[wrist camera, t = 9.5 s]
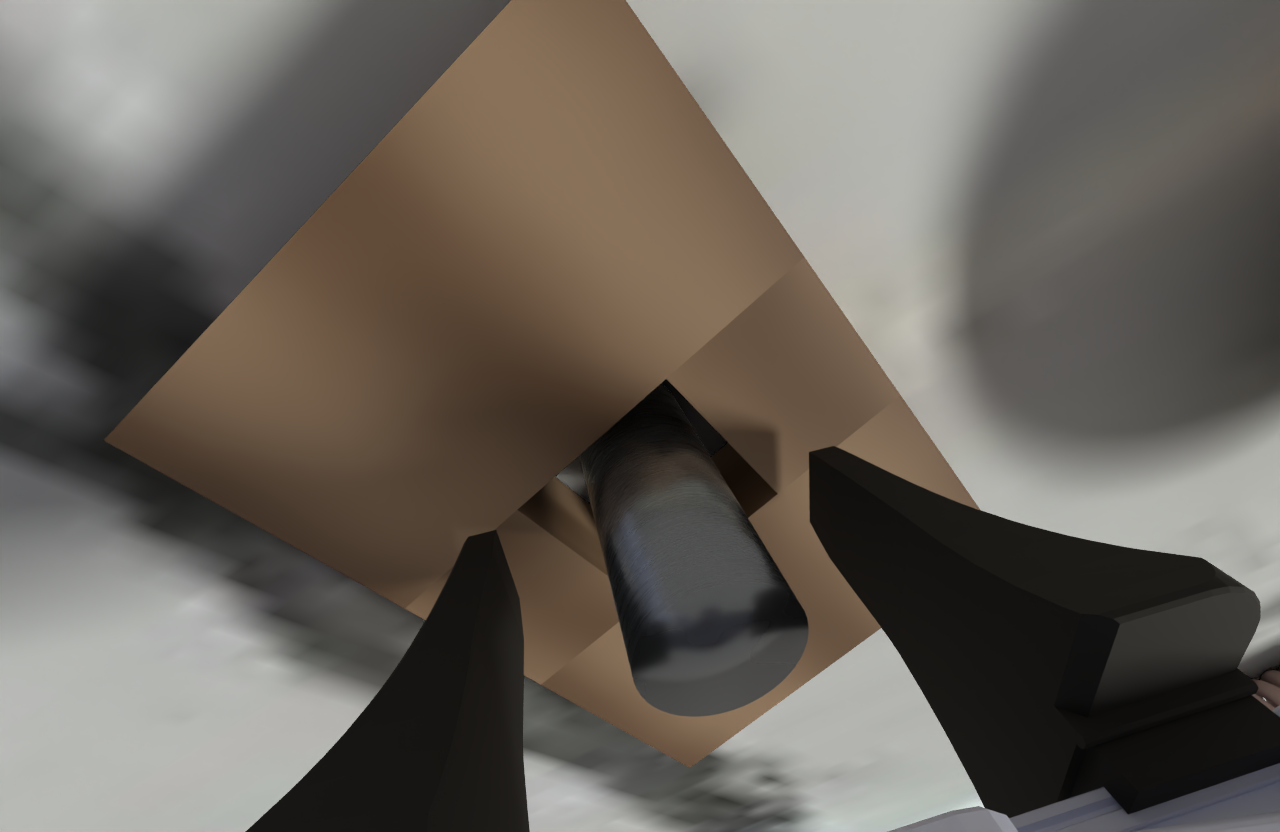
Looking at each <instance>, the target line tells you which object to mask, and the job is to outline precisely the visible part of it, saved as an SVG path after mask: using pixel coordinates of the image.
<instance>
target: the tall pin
mask: <svg viewBox="0 0 1280 832" xmlns="http://www.w3.org/2000/svg"><path fill="white" fill-rule="evenodd" d="M579 458H580V462H581V466H582V470H583V475H584V479H585V483H586V487H587V491H588V495H589V499H590V504H591V508H592V512H593V516H594V520H595V524H596V528H597V532H598V537H599V541H600V545H601V549H602V553H603V557H604V561H605V566H606V570H607V574H608V578H609V582H610V586H611V590H612V595H613V599H614V603H615V607H616V611H617V615H618V619H619V624H620V628H621V632H622V636H623V640H624V644H625V648H626V652H627V657H628V661H629V665H630V669H631V673H632V677H633V681H634V684H635V687H636V689H637V691H638V692H639V694H640V695H641V696H642V697H643V699H644V700H645V701H646V702H648V703H649V704H650V705H652V706H653V707H655V708H657V709H659V710H661V711H664V712H666V713H669V714H674V715H679V716H688V717H701V716H711V715H716V714H721V713H725V712H728V711H732V710H735V709H737V708H740V707H743V706H745V705H747V704H749V703H751V702H754V701H755V700H757V699H759V698H761V697H762V696H764V695H765V694H767V693H768V692H770V691H771V690H773V689H774V688H775V687H776V686H777V685H779V684H780V683H781V682H782V681H783V680H784V679H785V678H786V677H787V676H788V675H789V674H790V673H791V671H792V670H793V669H794V668H795V666H796V665H797V663H798V662H799V660H800V658H801V656H802V654H803V652H804V650H805V647H806V644H807V640H808V635H809V625H808V619H807V616H806V613H805V611H804V609H803V607H802V606H801V604H800V603H799V601H798V599H797V598H796V596H795V594H794V593H793V591H792V589H791V588H790V586H789V584H788V583H787V581H786V580H785V578H784V576H783V575H782V573H781V571H780V570H779V568H778V566H777V565H776V563H775V562H774V560H773V558H772V557H771V555H770V553H769V552H768V550H767V548H766V547H765V545H764V543H763V542H762V540H761V539H760V537H759V535H758V534H757V532H756V530H755V529H754V527H753V525H752V524H751V522H750V520H749V519H748V517H747V516H746V514H745V512H744V511H743V509H742V507H741V506H740V504H739V502H738V501H737V499H736V497H735V496H734V494H733V493H732V491H731V489H730V488H729V486H728V484H727V483H726V481H725V479H724V478H723V476H722V475H721V473H720V471H719V470H718V468H717V466H716V465H715V463H714V461H713V460H712V458H711V456H710V455H709V453H708V452H707V450H706V448H705V447H704V445H703V443H702V442H701V440H700V438H699V437H698V435H697V433H696V432H695V430H694V429H693V427H692V425H691V424H690V422H689V420H688V419H687V417H686V415H685V414H684V412H683V410H682V409H681V407H680V406H679V404H678V402H677V401H676V399H675V397H674V396H673V394H672V393H671V392H670V390H669V389H668V388H667V387H666V386H664V385H663V384H662V383H661V384H660V385H659V386H657V387H656V388H655V389H654V390H653V391H652V392H651V393H649V394H648V395H647V396H646V397H645V398H644V399H643V400H641V401H640V402H639V403H638V404H637V405H636V406H635V407H634V408H632V409H631V410H630V411H629V412H628V413H627V414H626V415H624V416H623V417H622V418H621V419H620V420H619V421H618V422H616V423H615V424H614V425H613V426H612V427H611V428H610V429H609V430H607V431H606V432H605V433H604V434H603V435H602V436H601V437H599V438H598V439H597V440H596V441H595V442H594V443H593V444H591V445H590V446H589V447H588V448H587V449H586V450H585V451H584V452H582V453H581V454H580V455H579Z"/></svg>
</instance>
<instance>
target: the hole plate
mask: <svg viewBox="0 0 1280 832" xmlns="http://www.w3.org/2000/svg"><path fill="white" fill-rule="evenodd" d="M665 379H667V380H668V381H669V382H670V383H671V384H672V385H673V386H674V387H675V388H676V389H677V390H678V391H679V392H680V393H681V394H682V395H683V396H684V397H685V398H686V399H687V401H688V402H689V403H690V404H691V405H692V406H693V407H694V408H695V409H696V410H697V411H698V412H699V413H700V414H701V415H702V416H703V417H704V418H705V419H706V420H707V421H708V422H709V423H710V424H711V425H712V426H713V427H714V428H715V429H716V430H717V432H718V433H719V434H720V435H721V436H722V437H723V438H724V439H725V440H726V441H727V442H728V443H727V444H726V445H725V446H724V447H722V448H721V449H720V450H719V451H718V452H716V453H715V454H714V455H713V456H712V457H711V458H712V460H713V461H714V463H715V465H716V466H717V468H718V470H719V471H720V473H721V475H722V476H723V478H724V479H725V481H726V483H727V484H728V486H729V488H730V489H731V491H732V493H733V494H734V496H735V497H736V499H737V501H738V502H739V504H740V506H741V507H742V509H743V511H744V512H745V514H746V516H747V517H748V519H749V520H750V522H751V524H752V525H753V527H754V529H755V530H756V532H757V534H758V535H759V537H760V539H761V540H762V542H763V543H764V545H765V547H766V548H767V550H768V552H769V553H770V555H771V557H772V558H773V560H774V562H775V563H776V565H777V566H778V568H779V570H780V571H781V573H782V575H783V576H784V578H785V580H786V581H787V583H788V584H789V586H790V588H791V589H792V591H793V593H794V594H795V596H796V598H797V599H798V601H799V603H800V604H801V606H802V607H803V609H804V611H805V613H806V616H807V619H808V625H809V635H808V640H807V644H806V647H805V650H804V652H803V654H802V656H801V658H800V660H799V662H798V663H797V665H796V666H795V668H794V669H793V670H792V671H791V673H790V674H789V675H788V676H787V677H786V678H785V679H784V680H783V681H782V682H781V683H780V684H779V685H777V686H776V687H775V688H774V689H773V690H771V691H770V692H768V693H767V694H765V695H764V696H762V697H761V698H759V699H757V700H755V701H754V702H751V703H749V704H747V705H745V706H743V707H740V708H737V709H735V710H732V711H728V712H725V713H721V714H716V715H711V716H701V717H688V716H679V715H674V714H669V713H666V712H664V711H661V710H659V709H657V708H655V707H653V706H652V705H650V704H649V703H648V702H646V701H645V700H644V699H643V697H642V696H641V695H640V694H639V692H638V691H637V689H636V687H635V684H634V681H633V677H632V673H631V669H630V665H629V661H628V657H627V652H626V648H625V644H624V640H623V636H622V632H621V628H620V624H619V619H618V615H617V611H616V607H615V603H614V599H613V595H612V590H611V586H610V582H609V578H608V574H607V570H606V566H605V561H604V557H603V553H602V549H601V545H600V541H599V537H598V532H597V528H596V524H595V520H594V516H593V512H592V508H591V505H590V504H589V503H587V502H586V501H585V500H584V499H582V498H581V497H580V496H579V495H577V494H576V493H575V492H574V491H572V490H571V489H570V488H568V487H567V486H566V485H565V484H563V483H562V482H561V481H560V480H558V479H557V478H556V477H555V476H556V475H557V474H559V473H560V472H561V471H562V470H563V469H564V468H565V467H566V466H568V465H569V464H570V463H571V462H572V461H573V460H574V459H576V458H577V457H578V456H579V455H580V454H581V453H582V452H584V451H585V450H586V449H587V448H588V447H589V446H590V445H591V444H593V443H594V442H595V441H596V440H597V439H598V438H599V437H601V436H602V435H603V434H604V433H605V432H606V431H607V430H609V429H610V428H611V427H612V426H613V425H614V424H615V423H616V422H618V421H619V420H620V419H621V418H622V417H623V416H624V415H626V414H627V413H628V412H629V411H630V410H631V409H632V408H634V407H635V406H636V405H637V404H638V403H639V402H640V401H641V400H643V399H644V398H645V397H646V396H647V395H648V394H649V393H651V392H652V391H653V390H654V389H655V388H656V387H657V386H659V385H660V384H661V383H662V382H663V381H664V380H665ZM104 441H106V442H107V443H109V444H111V445H113V446H115V447H116V448H118V449H120V450H122V451H124V452H125V453H127V454H129V455H131V456H133V457H134V458H136V459H138V460H140V461H141V462H143V463H145V464H147V465H149V466H150V467H152V468H154V469H156V470H158V471H159V472H161V473H163V474H165V475H167V476H168V477H170V478H172V479H174V480H176V481H177V482H179V483H181V484H183V485H184V486H186V487H188V488H190V489H192V490H193V491H195V492H197V493H199V494H201V495H202V496H204V497H206V498H208V499H210V500H211V501H213V502H215V503H217V504H218V505H220V506H222V507H224V508H226V509H227V510H229V511H231V512H233V513H235V514H236V515H238V516H240V517H242V518H244V519H245V520H247V521H249V522H251V523H252V524H254V525H256V526H258V527H260V528H261V529H263V530H265V531H267V532H269V533H270V534H272V535H274V536H276V537H278V538H279V539H281V540H283V541H285V542H286V543H288V544H290V545H292V546H294V547H295V548H297V549H299V550H301V551H303V552H304V553H306V554H308V555H310V556H312V557H313V558H315V559H317V560H319V561H321V562H322V563H324V564H326V565H328V566H329V567H331V568H333V569H335V570H337V571H338V572H340V573H342V574H344V575H346V576H347V577H349V578H351V579H353V580H355V581H356V582H358V583H360V584H362V585H363V586H365V587H367V588H369V589H371V590H372V591H374V592H376V593H378V594H380V595H381V596H383V597H385V598H387V599H389V600H390V601H392V602H394V603H396V604H397V605H399V606H401V607H403V608H405V609H406V610H408V611H410V612H412V613H414V614H415V615H417V616H419V617H421V618H423V619H424V620H426V619H427V617H428V615H429V614H430V612H431V610H432V608H433V606H434V604H435V602H436V600H437V598H438V597H439V595H440V593H441V591H442V589H443V587H444V585H445V583H446V581H447V579H448V577H449V575H450V573H451V571H452V569H453V566H454V564H455V562H456V560H457V558H458V556H459V553H460V551H461V549H462V547H463V544H464V542H465V541H466V539H467V538H468V537H469V536H473V535H477V534H481V533H485V532H489V531H493V530H497V533H498V536H499V539H500V542H501V545H502V548H503V551H504V554H505V557H506V560H507V563H508V566H509V569H510V572H511V574H512V577H513V580H514V583H515V586H516V589H517V592H518V595H519V598H520V607H521V616H522V625H523V635H524V675H525V676H526V677H528V678H530V679H532V680H534V681H535V682H537V683H539V684H541V685H543V686H544V687H546V688H548V689H550V690H551V691H553V692H555V693H557V694H559V695H560V696H562V697H564V698H566V699H568V700H569V701H571V702H573V703H575V704H577V705H578V706H580V707H582V708H584V709H585V710H587V711H589V712H591V713H593V714H594V715H596V716H598V717H600V718H602V719H603V720H605V721H607V722H609V723H611V724H612V725H614V726H616V727H618V728H619V729H621V730H623V731H625V732H627V733H628V734H630V735H632V736H634V737H636V738H637V739H639V740H641V741H643V742H645V743H646V744H648V745H650V746H652V747H654V748H655V749H657V750H659V751H661V752H662V753H664V754H666V755H668V756H670V757H671V758H673V759H675V760H677V761H679V762H680V763H682V764H684V765H686V766H688V767H689V768H690V767H692V766H693V765H694V764H696V763H697V762H698V761H700V760H701V759H703V758H704V757H705V756H707V755H708V754H709V753H711V752H712V751H713V750H715V749H716V748H718V747H719V746H720V745H722V744H723V743H724V742H726V741H727V740H729V739H730V738H731V737H733V736H734V735H735V734H737V733H738V732H739V731H741V730H742V729H744V728H745V727H746V726H748V725H749V724H750V723H752V722H753V721H755V720H756V719H757V718H759V717H760V716H761V715H763V714H764V713H765V712H767V711H768V710H770V709H771V708H772V707H774V706H775V705H776V704H778V703H779V702H781V701H782V700H783V699H785V698H786V697H787V696H789V695H790V694H791V693H793V692H794V691H796V690H797V689H798V688H800V687H801V686H802V685H804V684H805V683H806V682H808V681H809V680H811V679H812V678H813V677H815V676H816V675H817V674H819V673H820V672H822V671H823V670H824V669H826V668H827V667H828V666H830V665H831V664H832V663H834V662H835V661H837V660H838V659H839V658H841V657H842V656H843V655H845V654H846V653H848V652H849V651H850V650H852V649H853V648H854V647H856V646H857V645H858V644H860V643H861V642H863V641H864V640H865V639H867V638H868V637H869V636H871V635H872V634H874V633H875V632H876V631H878V630H879V629H880V628H881V626H880V625H879V624H878V622H877V621H876V620H875V618H874V617H873V616H872V614H871V613H870V612H869V610H868V609H867V608H866V606H865V605H864V604H863V602H862V601H861V600H860V598H859V597H858V596H857V594H856V593H855V592H854V590H853V589H852V588H851V586H850V585H849V584H848V582H847V581H846V580H845V578H844V577H843V576H842V574H841V573H840V572H839V570H838V569H837V567H836V566H835V565H834V563H833V562H832V561H831V559H830V558H829V556H828V554H827V552H826V551H825V549H824V547H823V545H822V544H821V542H820V540H819V538H818V536H817V535H816V533H815V531H814V529H813V527H812V525H811V523H810V509H809V452H811V451H815V450H819V449H823V448H827V447H831V446H835V447H838V448H840V449H842V450H845V451H847V452H849V453H851V454H853V455H855V456H857V457H859V458H861V459H863V460H865V461H867V462H870V463H872V464H874V465H876V466H878V467H880V468H882V469H884V470H886V471H888V472H890V473H892V474H894V475H896V476H899V477H901V478H903V479H905V480H907V481H909V482H911V483H914V484H916V485H918V486H920V487H923V488H925V489H927V490H929V491H932V492H934V493H937V494H939V495H941V496H944V497H946V498H949V499H951V500H954V501H956V502H959V503H961V504H964V505H967V506H969V507H972V508H975V509H977V510H980V509H979V507H978V506H977V505H976V503H975V502H974V500H973V499H972V497H971V496H970V494H969V493H968V492H967V490H966V489H965V487H964V486H963V484H962V483H961V482H960V480H959V479H958V477H957V476H956V474H955V473H954V471H953V470H952V469H951V467H950V466H949V464H948V463H947V461H946V460H945V459H944V457H943V456H942V454H941V453H940V451H939V450H938V449H937V447H936V446H935V444H934V443H933V441H932V440H931V438H930V437H929V436H928V434H927V433H926V431H925V430H924V428H923V427H922V426H921V424H920V423H919V421H918V420H917V418H916V417H915V415H914V414H913V413H912V411H911V410H910V408H909V407H908V405H907V404H906V403H905V401H904V400H903V398H902V397H901V395H900V394H899V392H898V391H897V390H896V388H895V387H894V385H893V384H892V382H891V381H890V380H889V378H888V377H887V375H886V374H885V372H884V371H883V369H882V368H881V367H880V365H879V364H878V362H877V361H876V359H875V358H874V357H873V355H872V354H871V352H870V351H869V349H868V348H867V346H866V345H865V344H864V342H863V341H862V339H861V338H860V336H859V335H858V334H857V332H856V331H855V329H854V328H853V326H852V325H851V324H850V322H849V321H848V319H847V318H846V316H845V315H844V313H843V312H842V311H841V309H840V308H839V306H838V305H837V303H836V302H835V301H834V299H833V298H832V296H831V295H830V293H829V292H828V290H827V289H826V288H825V286H824V285H823V283H822V282H821V280H820V279H819V278H818V276H817V275H816V273H815V272H814V270H813V269H812V267H811V266H810V265H809V263H808V262H807V260H806V259H805V257H804V256H803V255H802V253H801V252H800V250H799V249H798V247H797V246H796V244H795V243H794V242H793V240H792V239H791V237H790V236H789V234H788V233H787V232H786V230H785V229H784V227H783V226H782V224H781V223H780V221H779V220H778V219H777V217H776V216H775V214H774V213H773V211H772V210H771V209H770V207H769V206H768V204H767V203H766V201H765V200H764V198H763V197H762V196H761V194H760V193H759V191H758V190H757V188H756V187H755V186H754V184H753V183H752V181H751V180H750V178H749V177H748V176H747V174H746V173H745V171H744V170H743V168H742V167H741V165H740V164H739V163H738V161H737V160H736V158H735V157H734V155H733V154H732V153H731V151H730V150H729V148H728V147H727V145H726V144H725V142H724V141H723V140H722V138H721V137H720V135H719V134H718V132H717V131H716V130H715V128H714V127H713V125H712V124H711V122H710V121H709V119H708V118H707V117H706V115H705V114H704V112H703V111H702V109H701V108H700V107H699V105H698V104H697V102H696V101H695V99H694V98H693V96H692V95H691V94H690V92H689V91H688V89H687V88H686V86H685V85H684V84H683V82H682V81H681V79H680V78H679V76H678V75H677V73H676V72H675V71H674V69H673V68H672V66H671V65H670V63H669V62H668V61H667V59H666V58H665V56H664V55H663V53H662V52H661V51H660V49H659V48H658V46H657V45H656V43H655V42H654V40H653V39H652V38H651V36H650V35H649V33H648V32H647V30H646V29H645V28H644V26H643V25H642V23H641V22H640V20H639V19H638V17H637V16H636V15H635V13H634V12H633V10H632V9H631V7H630V6H629V5H628V3H627V2H626V0H511V1H510V2H509V3H508V4H507V5H506V6H505V8H504V9H503V10H502V11H501V12H500V13H499V14H498V15H497V16H496V17H495V18H494V19H493V20H492V22H491V23H490V24H489V25H488V26H487V27H486V28H485V29H484V30H483V31H482V32H481V33H480V35H479V36H478V37H477V38H476V39H475V40H474V41H473V42H472V43H471V44H470V45H469V46H468V47H467V49H466V50H465V51H464V52H463V53H462V54H461V55H460V56H459V57H458V58H457V59H456V60H455V62H454V63H453V64H452V65H451V66H450V67H449V68H448V69H447V70H446V71H445V72H444V73H443V74H442V76H441V77H440V78H439V79H438V80H437V81H436V82H435V83H434V84H433V85H432V86H431V87H430V88H429V90H428V91H427V92H426V93H425V94H424V95H423V96H422V97H421V98H420V99H419V100H418V101H417V103H416V104H415V105H414V106H413V107H412V108H411V109H410V110H409V111H408V112H407V113H406V114H405V115H404V117H403V118H402V119H401V120H400V121H399V122H398V123H397V124H396V125H395V126H394V127H393V128H392V130H391V131H390V132H389V133H388V134H387V135H386V136H385V137H384V138H383V139H382V140H381V141H380V142H379V144H378V145H377V146H376V147H375V148H374V149H373V150H372V151H371V152H370V153H369V154H368V155H367V157H366V158H365V159H364V160H363V161H362V162H361V163H360V164H359V165H358V166H357V167H356V168H355V169H354V171H353V172H352V173H351V174H350V175H349V176H348V177H347V178H346V179H345V180H344V181H343V182H342V183H341V185H340V186H339V187H338V188H337V189H336V190H335V191H334V192H333V193H332V194H331V195H330V196H329V198H328V199H327V200H326V201H325V202H324V203H323V204H322V205H321V206H320V207H319V208H318V209H317V210H316V212H315V213H314V214H313V215H312V216H311V217H310V218H309V219H308V220H307V221H306V222H305V223H304V225H303V226H302V227H301V228H300V229H299V230H298V231H297V232H296V233H295V234H294V235H293V236H292V237H291V239H290V240H289V241H288V242H287V243H286V244H285V245H284V246H283V247H282V248H281V249H280V250H279V252H278V253H277V254H276V255H275V256H274V257H273V258H272V259H271V260H270V261H269V262H268V263H267V264H266V266H265V267H264V268H263V269H262V270H261V271H260V272H259V273H258V274H257V275H256V276H255V277H254V278H253V280H252V281H251V282H250V283H249V284H248V285H247V286H246V287H245V288H244V289H243V290H242V291H241V293H240V294H239V295H238V296H237V297H236V298H235V299H234V300H233V301H232V302H231V303H230V304H229V305H228V307H227V308H226V309H225V310H224V311H223V312H222V313H221V314H220V315H219V316H218V317H217V318H216V320H215V321H214V322H213V323H212V324H211V325H210V326H209V327H208V328H207V329H206V330H205V331H204V332H203V334H202V335H201V336H200V337H199V338H198V339H197V340H196V341H195V342H194V343H193V344H192V345H191V347H190V348H189V349H188V350H187V351H186V352H185V353H184V354H183V355H182V356H181V357H180V358H179V359H178V361H177V362H176V363H175V364H174V365H173V366H172V367H171V368H170V369H169V370H168V371H167V372H166V374H165V375H164V376H163V377H162V378H161V379H160V380H159V381H158V382H157V383H156V384H155V385H154V386H153V388H152V389H151V390H150V391H149V392H148V393H147V394H146V395H145V396H144V397H143V398H142V399H141V400H140V402H139V403H138V404H137V405H136V406H135V407H134V408H133V409H132V410H131V411H130V412H129V413H128V415H127V416H126V417H125V418H124V419H123V420H122V421H121V422H120V423H119V424H118V425H117V426H116V427H115V429H114V430H113V431H112V432H111V433H110V434H109V435H108V436H107V437H106V438H105V439H104Z"/></svg>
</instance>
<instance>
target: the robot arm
mask: <svg viewBox="0 0 1280 832" xmlns="http://www.w3.org/2000/svg"><path fill="white" fill-rule="evenodd" d="M809 509H810V523H811V525H812V527H813V529H814V531H815V533H816V535H817V536H818V538H819V540H820V542H821V544H822V545H823V547H824V549H825V551H826V552H827V554H828V556H829V558H830V559H831V561H832V562H833V563H834V565H835V566H836V567H837V569H838V570H839V572H840V573H841V574H842V576H843V577H844V578H845V580H846V581H847V582H848V584H849V585H850V586H851V588H852V589H853V590H854V592H855V593H856V594H857V596H858V597H859V598H860V600H861V601H862V602H863V604H864V605H865V606H866V608H867V609H868V610H869V612H870V613H871V614H872V616H873V617H874V618H875V620H876V621H877V622H878V624H879V625H880V626H881V628H882V629H883V630H884V632H885V633H886V634H887V636H888V637H889V639H890V640H891V642H892V643H893V645H894V646H895V648H896V649H897V650H898V652H899V654H900V655H901V657H902V659H903V660H904V662H905V664H906V665H907V667H908V669H909V670H910V672H911V674H912V675H913V677H914V679H915V680H916V682H917V684H918V685H919V687H920V689H921V690H922V692H923V694H924V696H925V697H926V699H927V701H928V703H929V704H930V706H931V708H932V710H933V711H934V713H935V715H936V717H937V718H938V720H939V722H940V724H941V725H942V727H943V729H944V731H945V732H946V734H947V736H948V738H949V740H950V742H951V744H952V746H953V747H954V749H955V751H956V753H957V755H958V757H959V759H960V760H961V762H962V764H963V766H964V768H965V770H966V772H967V774H968V775H969V777H970V779H971V781H972V783H973V785H974V787H975V789H976V791H977V793H978V795H979V797H980V799H981V801H982V803H983V805H984V807H985V808H982V807H979V806H977V807H972V808H966V809H960V810H954V811H950V812H947V813H944V814H941V815H937V816H934V817H931V818H928V819H925V820H922V821H919V822H916V823H913V824H910V825H907V826H904V827H901V828H898V829H895V830H892V831H889V832H1280V705H1279V706H1278V707H1276V708H1275V709H1274V710H1273V711H1271V710H1270V709H1269V708H1268V707H1266V706H1265V705H1264V704H1263V703H1261V702H1260V701H1259V700H1257V699H1256V698H1255V697H1254V696H1252V695H1253V694H1256V692H1257V691H1258V689H1259V688H1258V686H1257V684H1256V682H1254V681H1253V680H1252V679H1250V678H1249V677H1248V676H1247V675H1245V674H1244V673H1243V672H1241V671H1240V670H1239V669H1237V667H1238V665H1239V663H1240V661H1241V659H1242V657H1243V655H1244V653H1245V651H1246V649H1247V647H1248V645H1249V643H1250V641H1251V639H1252V637H1253V635H1254V634H1255V632H1256V629H1257V626H1258V623H1259V621H1260V601H1259V599H1258V598H1257V596H1256V594H1255V593H1254V592H1253V591H1252V590H1250V589H1248V588H1247V587H1245V586H1244V585H1242V584H1241V583H1239V582H1238V581H1236V580H1235V579H1233V578H1232V577H1230V576H1229V575H1227V574H1226V573H1224V572H1223V571H1221V570H1220V569H1218V568H1217V567H1215V566H1214V565H1212V564H1211V563H1209V562H1207V561H1206V560H1204V559H1203V558H1198V557H1191V556H1184V555H1176V554H1169V553H1161V552H1154V551H1147V550H1139V549H1133V548H1127V547H1121V546H1116V545H1111V544H1106V543H1100V542H1095V541H1090V540H1085V539H1081V538H1076V537H1072V536H1067V535H1063V534H1059V533H1055V532H1051V531H1047V530H1043V529H1040V528H1036V527H1032V526H1028V525H1025V524H1021V523H1018V522H1014V521H1011V520H1008V519H1005V518H1002V517H999V516H996V515H993V514H990V513H987V512H984V511H981V510H977V509H975V508H972V507H969V506H967V505H964V504H961V503H959V502H956V501H954V500H951V499H949V498H946V497H944V496H941V495H939V494H937V493H934V492H932V491H929V490H927V489H925V488H923V487H920V486H918V485H916V484H914V483H911V482H909V481H907V480H905V479H903V478H901V477H899V476H896V475H894V474H892V473H890V472H888V471H886V470H884V469H882V468H880V467H878V466H876V465H874V464H872V463H870V462H867V461H865V460H863V459H861V458H859V457H857V456H855V455H853V454H851V453H849V452H847V451H845V450H842V449H840V448H838V447H835V446H831V447H827V448H823V449H819V450H815V451H811V452H809ZM523 693H524V635H523V625H522V616H521V607H520V598H519V595H518V592H517V589H516V586H515V583H514V580H513V577H512V574H511V572H510V569H509V566H508V563H507V560H506V557H505V554H504V551H503V548H502V545H501V542H500V539H499V536H498V533H497V530H493V531H489V532H485V533H481V534H477V535H473V536H469V537H468V538H467V539H466V541H465V542H464V544H463V547H462V549H461V551H460V553H459V556H458V558H457V560H456V562H455V564H454V566H453V569H452V571H451V573H450V575H449V577H448V579H447V581H446V583H445V585H444V587H443V589H442V591H441V593H440V595H439V597H438V598H437V600H436V602H435V604H434V606H433V608H432V610H431V612H430V614H429V615H428V617H427V619H426V621H425V622H424V624H423V626H422V627H421V629H420V631H419V632H418V634H417V636H416V637H415V639H414V641H413V642H412V644H411V646H410V647H409V649H408V650H407V652H406V654H405V655H404V657H403V658H402V660H401V661H400V663H399V664H398V666H397V667H396V668H395V670H394V671H393V673H392V674H391V676H390V677H389V678H388V680H387V681H386V683H385V684H384V685H383V687H382V688H381V689H380V691H379V692H378V693H377V695H376V696H375V697H374V699H373V700H372V701H371V702H370V704H369V705H368V706H367V707H366V708H365V710H364V711H363V712H362V713H361V714H360V716H359V717H358V718H357V719H356V720H355V722H354V723H353V724H352V725H351V727H350V728H349V729H348V730H347V731H346V733H345V734H344V735H343V736H342V737H341V738H340V739H339V740H338V741H337V743H336V744H335V745H334V746H333V747H332V748H331V749H330V750H329V751H328V752H327V753H326V755H325V756H324V757H323V758H322V759H321V760H320V761H319V762H318V763H317V764H316V765H315V766H314V767H313V768H312V769H311V770H310V771H309V772H308V773H307V774H306V775H305V776H304V777H303V778H302V779H301V780H300V781H299V782H298V783H297V784H296V785H295V786H294V787H293V788H292V789H291V790H290V791H289V792H288V793H287V794H286V795H285V796H284V797H283V798H282V799H281V800H279V801H278V802H277V803H276V804H275V805H274V806H273V807H272V808H271V809H270V810H269V811H268V812H267V813H265V814H264V815H263V816H262V817H261V818H260V819H259V820H258V821H257V822H256V823H255V824H254V825H252V826H251V827H250V828H249V829H248V830H247V831H246V832H530V831H529V821H528V810H527V799H526V787H525V774H524V762H523Z"/></svg>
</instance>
